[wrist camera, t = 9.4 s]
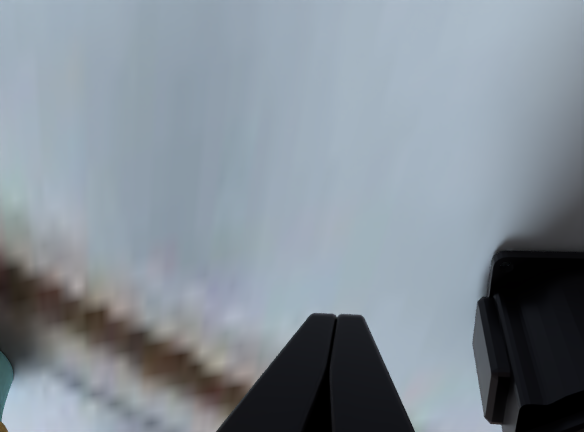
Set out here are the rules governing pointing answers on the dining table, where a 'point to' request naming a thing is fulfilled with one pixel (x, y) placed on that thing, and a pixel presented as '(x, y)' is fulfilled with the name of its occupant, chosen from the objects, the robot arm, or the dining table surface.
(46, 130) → the dining table surface
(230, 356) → the dining table surface
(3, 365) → the cupcake
